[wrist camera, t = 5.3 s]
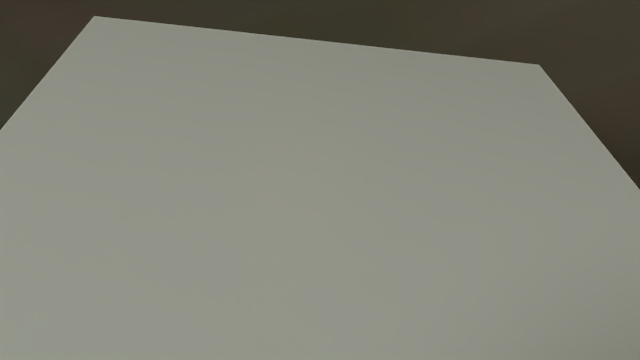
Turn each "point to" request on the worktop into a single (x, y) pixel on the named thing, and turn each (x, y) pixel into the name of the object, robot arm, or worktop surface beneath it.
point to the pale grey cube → (307, 207)
